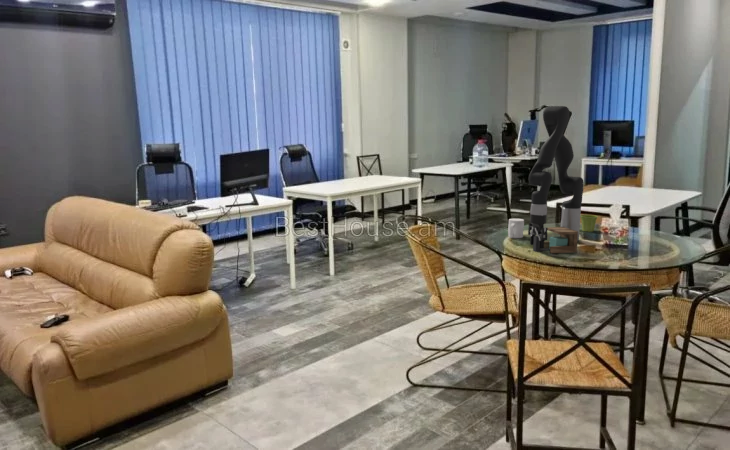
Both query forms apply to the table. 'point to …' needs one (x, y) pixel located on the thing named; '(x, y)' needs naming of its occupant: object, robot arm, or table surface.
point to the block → (553, 242)
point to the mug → (515, 228)
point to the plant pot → (588, 222)
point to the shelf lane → (565, 233)
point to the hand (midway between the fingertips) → (536, 246)
